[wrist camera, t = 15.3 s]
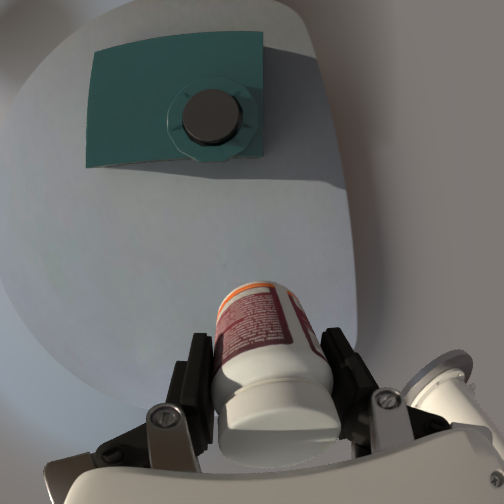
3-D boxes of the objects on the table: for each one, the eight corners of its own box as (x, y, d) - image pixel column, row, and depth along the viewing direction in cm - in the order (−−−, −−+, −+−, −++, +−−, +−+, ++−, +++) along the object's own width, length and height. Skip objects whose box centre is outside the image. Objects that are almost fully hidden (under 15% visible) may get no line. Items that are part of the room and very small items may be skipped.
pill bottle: (206, 338, 15) (190, 463, 7) (234, 266, 14) (234, 385, 6) (281, 358, 16) (307, 475, 8) (316, 294, 15) (380, 406, 7)
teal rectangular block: (260, 45, 21) (265, 22, 16) (259, 163, 24) (265, 161, 20) (107, 61, 20) (86, 46, 15) (101, 172, 24) (75, 174, 19)
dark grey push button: (239, 94, 18) (239, 88, 17) (238, 143, 20) (238, 140, 18) (187, 96, 18) (183, 90, 16) (186, 144, 19) (182, 142, 18)
